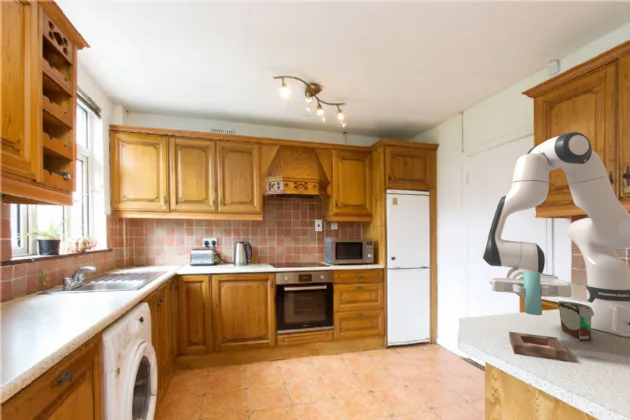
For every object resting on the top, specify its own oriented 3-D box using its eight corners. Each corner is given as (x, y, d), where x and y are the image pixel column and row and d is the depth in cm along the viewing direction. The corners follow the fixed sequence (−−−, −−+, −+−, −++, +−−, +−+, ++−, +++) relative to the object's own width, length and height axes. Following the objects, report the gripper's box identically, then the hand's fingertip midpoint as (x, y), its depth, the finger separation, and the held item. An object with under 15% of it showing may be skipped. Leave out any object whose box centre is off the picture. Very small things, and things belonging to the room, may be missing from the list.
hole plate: (556, 345, 91) (556, 336, 91) (568, 361, 80) (567, 351, 80) (509, 339, 96) (508, 331, 96) (514, 353, 85) (513, 343, 86)
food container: (606, 344, 92) (604, 310, 92) (582, 343, 93) (580, 309, 93) (579, 331, 104) (577, 301, 104) (559, 330, 105) (557, 300, 105)
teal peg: (540, 312, 90) (538, 271, 90) (543, 315, 86) (541, 273, 87) (524, 310, 91) (522, 270, 92) (526, 314, 88) (524, 272, 89)
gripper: (488, 272, 106) (491, 277, 93) (563, 276, 96) (576, 283, 84) (489, 290, 105) (492, 298, 93) (564, 296, 96) (577, 306, 84)
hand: (533, 291), depth 88 cm, fingers closed on teal peg, 4 cm apart
